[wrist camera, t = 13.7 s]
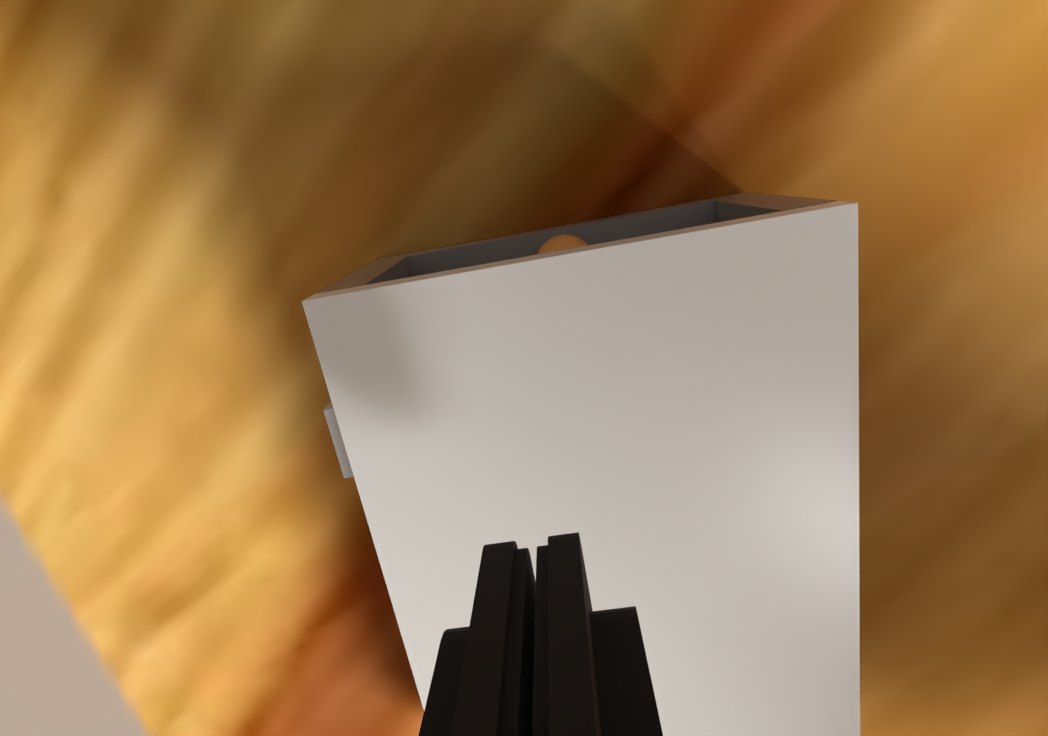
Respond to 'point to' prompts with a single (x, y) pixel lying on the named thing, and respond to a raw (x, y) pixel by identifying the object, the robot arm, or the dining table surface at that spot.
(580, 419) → the plate
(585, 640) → the robot arm
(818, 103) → the dining table surface
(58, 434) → the dining table surface
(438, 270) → the cable duct
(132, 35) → the dining table surface
